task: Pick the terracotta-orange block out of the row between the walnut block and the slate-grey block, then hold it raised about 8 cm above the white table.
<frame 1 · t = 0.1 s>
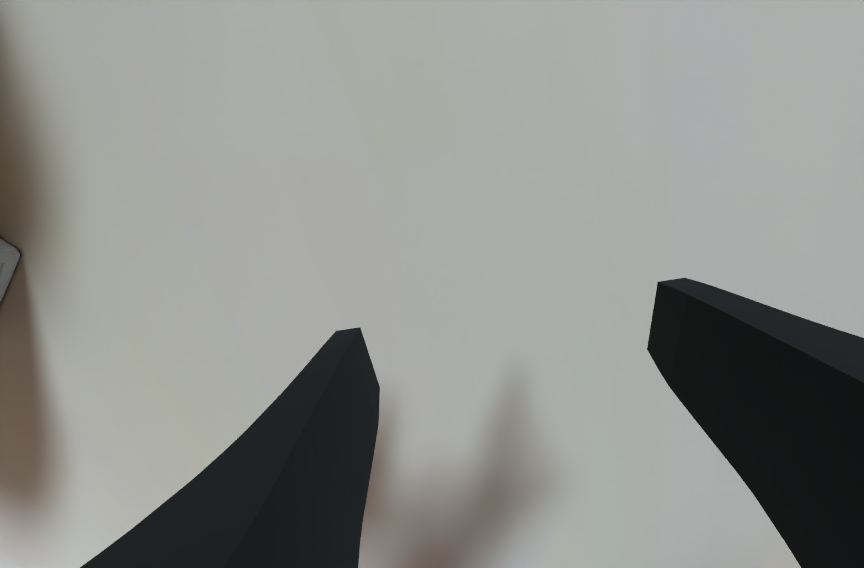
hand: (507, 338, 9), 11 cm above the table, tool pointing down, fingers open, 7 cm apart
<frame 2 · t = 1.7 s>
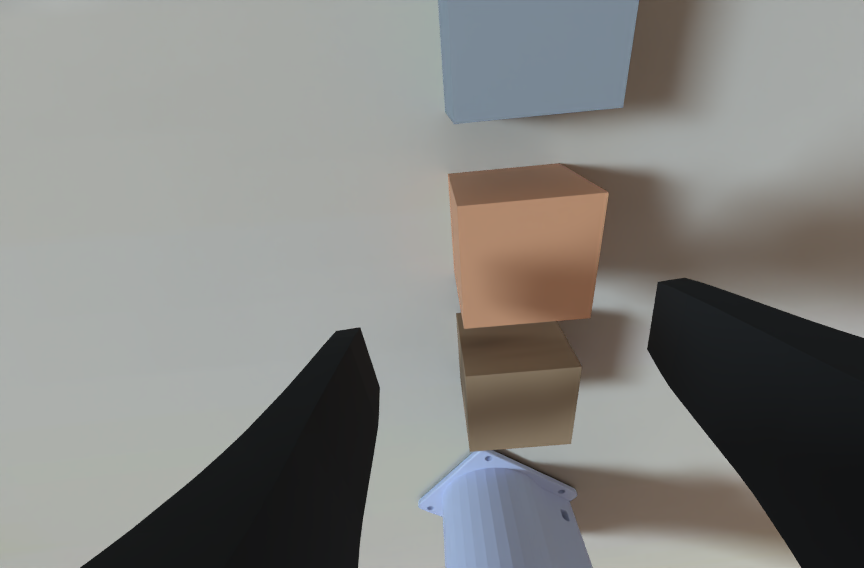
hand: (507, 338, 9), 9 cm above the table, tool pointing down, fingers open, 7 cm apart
orange block: (503, 221, 18), on the table
walnut block: (501, 344, 21), on the table
slate block: (505, 33, 14), on the table
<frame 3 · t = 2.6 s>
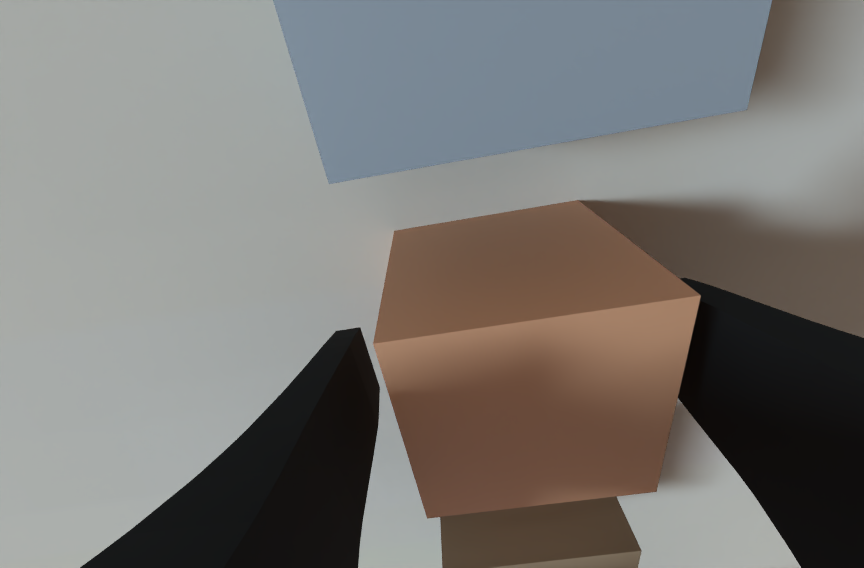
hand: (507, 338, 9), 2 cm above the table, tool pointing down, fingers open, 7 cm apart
orange block: (492, 292, 11), on the table
walnut block: (506, 450, 15), on the table
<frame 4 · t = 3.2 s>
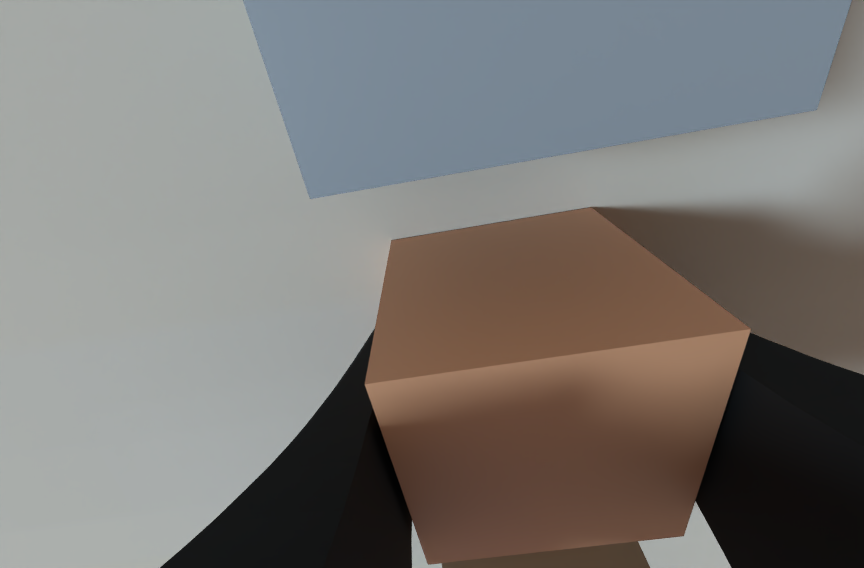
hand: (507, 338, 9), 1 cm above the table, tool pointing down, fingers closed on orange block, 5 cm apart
orange block: (497, 307, 10), on the table, touching gripper
walnut block: (510, 467, 14), on the table
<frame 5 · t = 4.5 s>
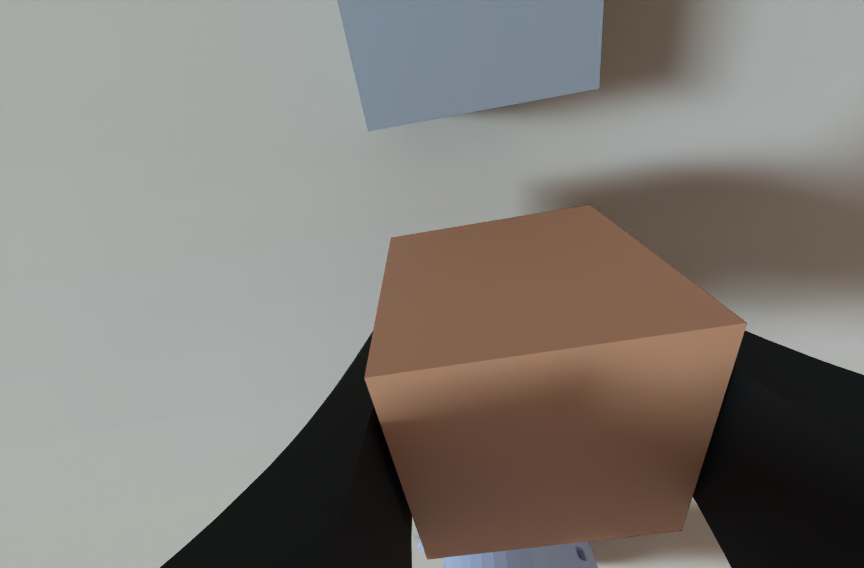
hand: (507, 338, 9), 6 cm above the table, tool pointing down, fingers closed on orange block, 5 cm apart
orange block: (496, 304, 10), point 5 cm above the table, touching gripper
slate block: (449, 6, 11), on the table
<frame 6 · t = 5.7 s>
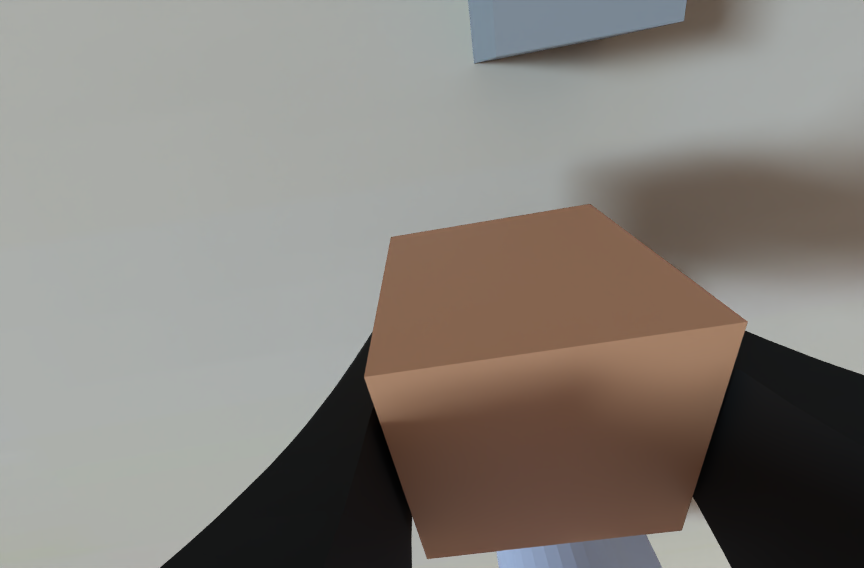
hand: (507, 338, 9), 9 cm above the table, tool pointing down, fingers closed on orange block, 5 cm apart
orange block: (496, 303, 10), point 8 cm above the table, touching gripper
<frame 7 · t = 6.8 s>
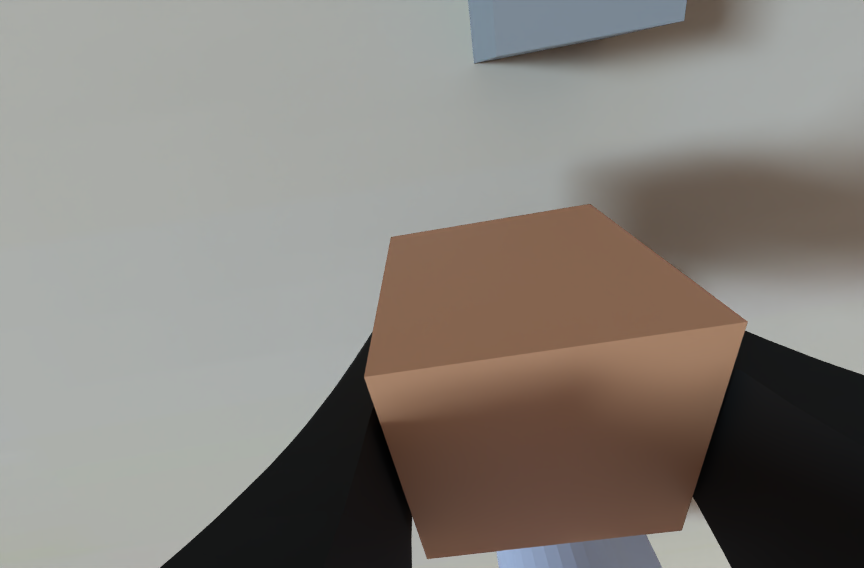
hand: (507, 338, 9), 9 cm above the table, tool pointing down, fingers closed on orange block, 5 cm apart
orange block: (496, 303, 10), point 8 cm above the table, touching gripper
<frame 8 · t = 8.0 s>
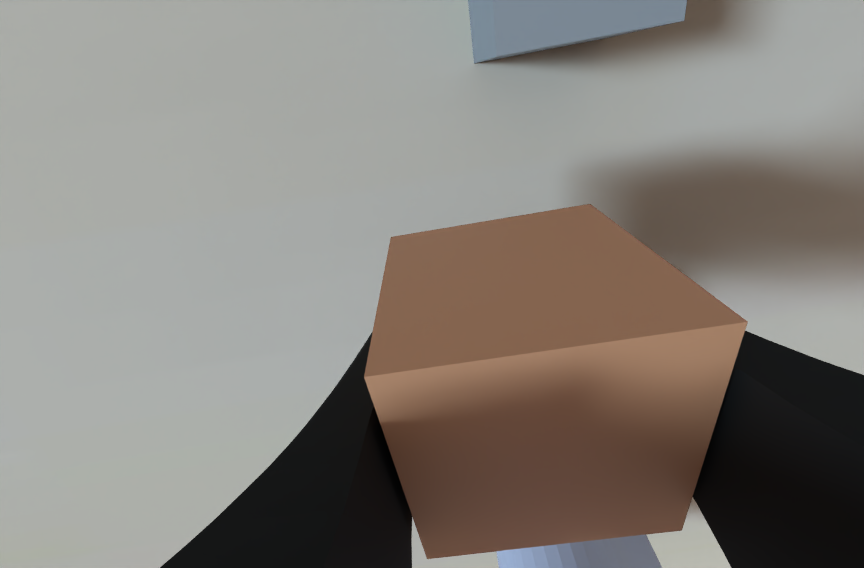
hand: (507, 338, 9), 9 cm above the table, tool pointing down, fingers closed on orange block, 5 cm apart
orange block: (496, 303, 10), point 8 cm above the table, touching gripper
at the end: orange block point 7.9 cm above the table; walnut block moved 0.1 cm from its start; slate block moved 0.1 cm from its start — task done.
